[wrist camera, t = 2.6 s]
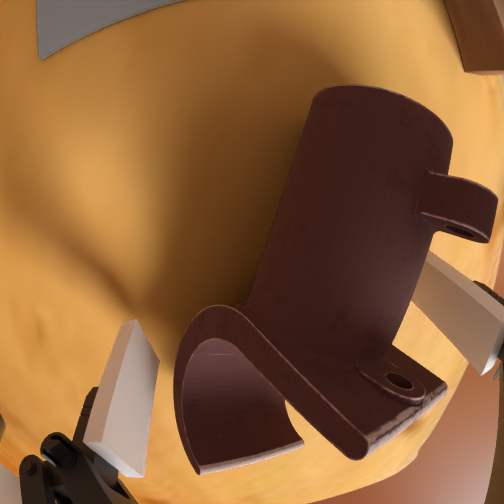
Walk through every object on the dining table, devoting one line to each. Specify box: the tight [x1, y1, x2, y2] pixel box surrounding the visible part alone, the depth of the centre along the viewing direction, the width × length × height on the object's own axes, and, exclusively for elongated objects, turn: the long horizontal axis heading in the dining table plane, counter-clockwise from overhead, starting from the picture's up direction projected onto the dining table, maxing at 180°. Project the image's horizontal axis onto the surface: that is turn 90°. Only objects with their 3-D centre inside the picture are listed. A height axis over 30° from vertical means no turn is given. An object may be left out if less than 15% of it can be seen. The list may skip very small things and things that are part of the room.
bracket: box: [173, 84, 498, 475], centre depth 10 cm, size 6×17×10 cm, turn 160°
